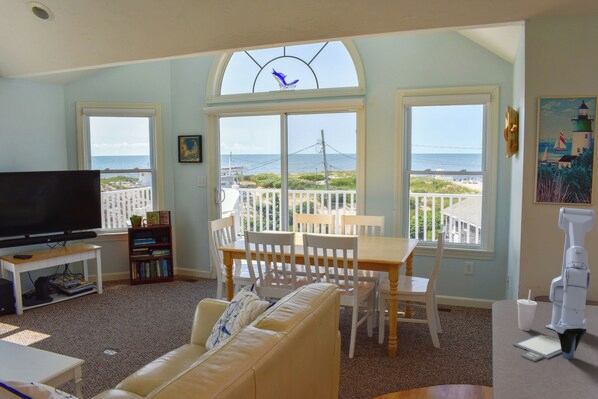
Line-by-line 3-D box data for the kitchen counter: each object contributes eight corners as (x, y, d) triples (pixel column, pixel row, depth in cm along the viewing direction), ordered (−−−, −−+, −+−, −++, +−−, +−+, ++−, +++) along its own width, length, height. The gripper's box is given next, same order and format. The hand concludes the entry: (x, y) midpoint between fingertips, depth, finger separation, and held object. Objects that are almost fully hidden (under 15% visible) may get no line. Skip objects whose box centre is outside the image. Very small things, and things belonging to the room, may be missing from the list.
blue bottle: (565, 354, 140) (567, 332, 139) (575, 358, 138) (578, 335, 137) (560, 356, 138) (562, 334, 138) (570, 360, 136) (573, 337, 135)
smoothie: (537, 333, 156) (541, 293, 154) (517, 331, 157) (520, 291, 156) (531, 326, 162) (535, 288, 161) (512, 324, 163) (515, 286, 162)
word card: (530, 352, 140) (530, 350, 140) (543, 357, 137) (543, 356, 137) (521, 356, 137) (521, 354, 137) (534, 361, 134) (534, 359, 134)
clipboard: (539, 335, 154) (540, 332, 154) (574, 347, 145) (574, 345, 145) (512, 345, 145) (513, 342, 145) (547, 358, 136) (547, 356, 136)
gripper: (575, 316, 129) (570, 361, 130) (599, 307, 137) (594, 351, 139) (550, 308, 135) (545, 352, 136) (574, 300, 143) (570, 342, 144)
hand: (568, 351), depth 138 cm, fingers closed on blue bottle, 3 cm apart
